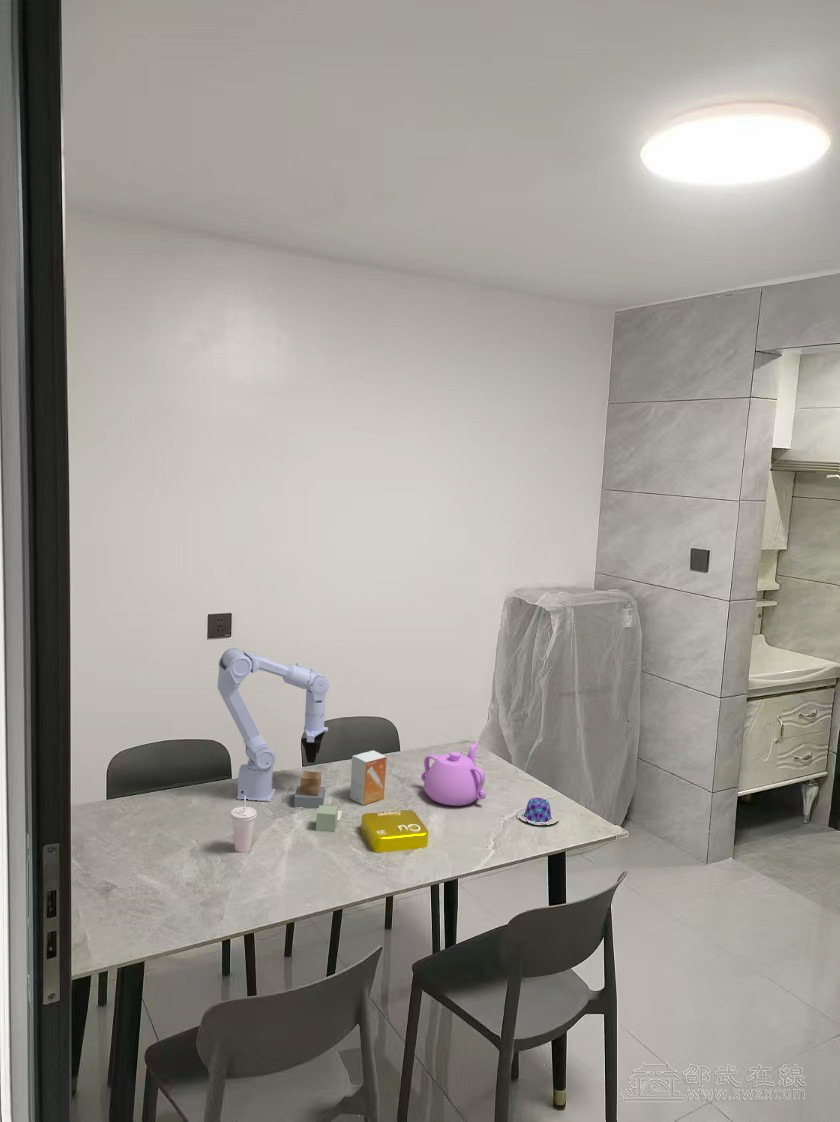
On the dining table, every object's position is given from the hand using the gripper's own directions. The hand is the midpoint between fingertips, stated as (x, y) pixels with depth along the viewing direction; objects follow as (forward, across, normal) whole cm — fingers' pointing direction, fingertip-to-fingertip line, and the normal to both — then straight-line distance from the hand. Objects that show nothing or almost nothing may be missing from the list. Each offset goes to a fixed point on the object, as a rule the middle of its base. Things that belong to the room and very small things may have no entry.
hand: (313, 757), depth 248 cm
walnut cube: (+6, -10, -1) cm, 12 cm away
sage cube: (+10, -25, -8) cm, 28 cm away
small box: (+10, -5, -17) cm, 20 cm away
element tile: (+10, -28, -26) cm, 40 cm away
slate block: (+10, -10, -1) cm, 14 cm away
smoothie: (+10, -40, +11) cm, 43 cm away
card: (+9, -18, -8) cm, 22 cm away
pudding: (+10, -10, -66) cm, 67 cm away
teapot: (+10, +2, -43) cm, 44 cm away
